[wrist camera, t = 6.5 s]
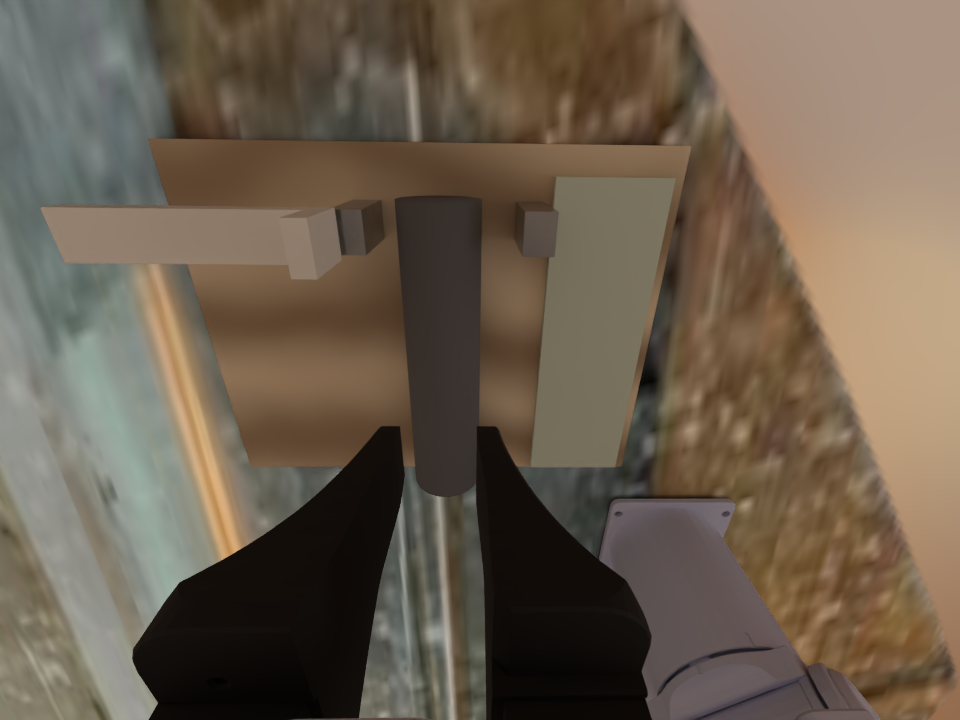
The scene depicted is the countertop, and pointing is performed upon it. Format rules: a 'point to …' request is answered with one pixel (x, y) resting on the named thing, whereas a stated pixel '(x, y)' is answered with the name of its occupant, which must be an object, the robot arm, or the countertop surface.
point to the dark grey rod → (442, 334)
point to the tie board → (378, 296)
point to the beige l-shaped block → (198, 235)
